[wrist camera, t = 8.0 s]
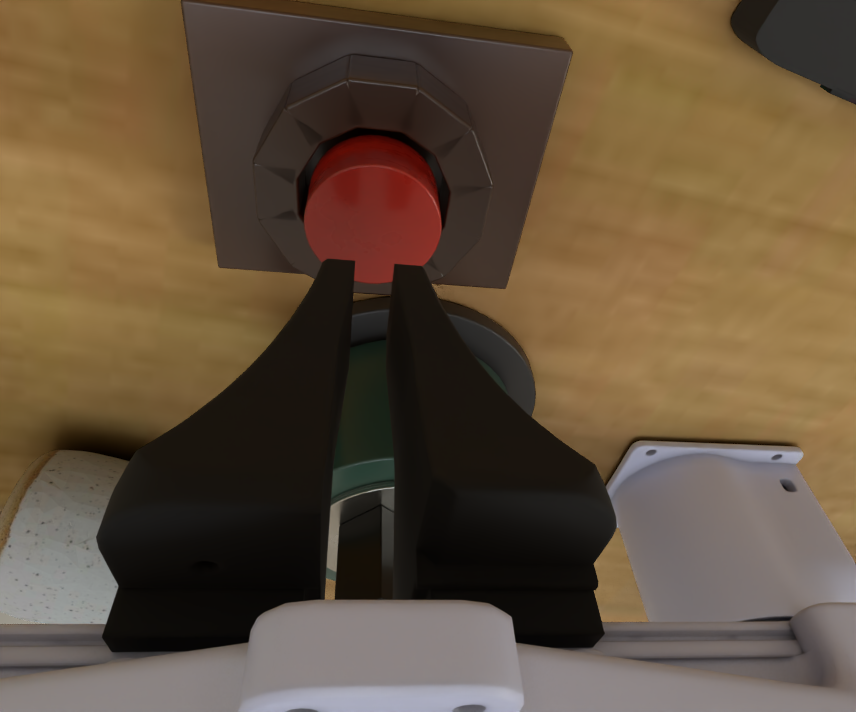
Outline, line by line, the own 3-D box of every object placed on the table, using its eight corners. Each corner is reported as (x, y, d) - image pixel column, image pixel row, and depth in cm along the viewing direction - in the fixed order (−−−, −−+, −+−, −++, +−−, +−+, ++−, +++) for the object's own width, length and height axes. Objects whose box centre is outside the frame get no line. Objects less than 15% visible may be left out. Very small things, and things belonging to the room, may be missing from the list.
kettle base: (425, 241, 21) (426, 254, 20) (578, 407, 28) (582, 420, 27) (208, 389, 25) (204, 403, 25) (386, 499, 32) (385, 512, 32)
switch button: (446, 141, 15) (452, 172, 14) (428, 254, 18) (432, 288, 17) (309, 126, 15) (302, 157, 14) (310, 244, 17) (304, 279, 16)
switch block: (564, 36, 16) (592, 74, 14) (501, 270, 22) (514, 322, 20) (190, -14, 15) (158, 19, 13) (224, 248, 20) (206, 302, 18)
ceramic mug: (45, 409, 26) (-48, 581, 20) (233, 451, 28) (196, 611, 23) (40, 522, 32) (-30, 674, 27) (193, 547, 35) (157, 688, 30)
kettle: (579, 451, 28) (638, 649, 22) (424, 521, 32) (435, 707, 26) (352, 234, 19) (336, 466, 13) (174, 369, 23) (91, 600, 16)
